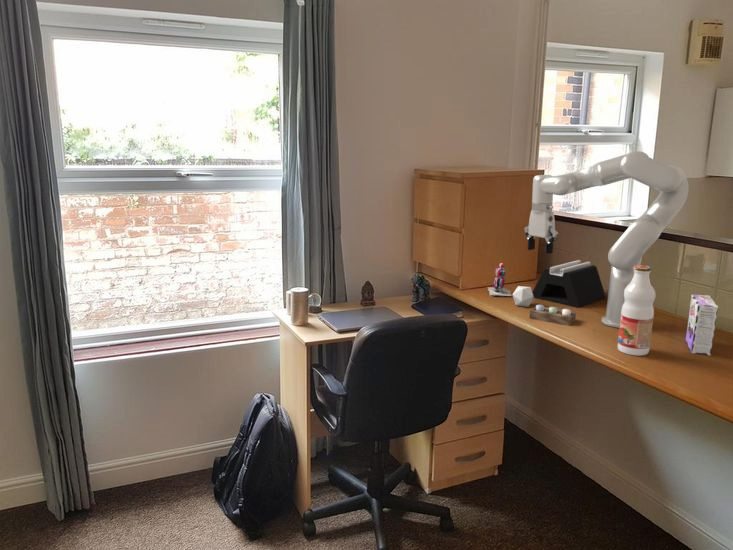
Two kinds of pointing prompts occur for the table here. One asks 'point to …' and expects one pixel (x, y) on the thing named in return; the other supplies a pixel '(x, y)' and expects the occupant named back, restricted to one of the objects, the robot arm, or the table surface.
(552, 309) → the sage button
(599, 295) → the device stand
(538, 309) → the slate blue button
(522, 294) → the die
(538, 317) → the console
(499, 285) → the statue
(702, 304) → the candy box
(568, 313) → the cream button
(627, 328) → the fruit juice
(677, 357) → the table surface
